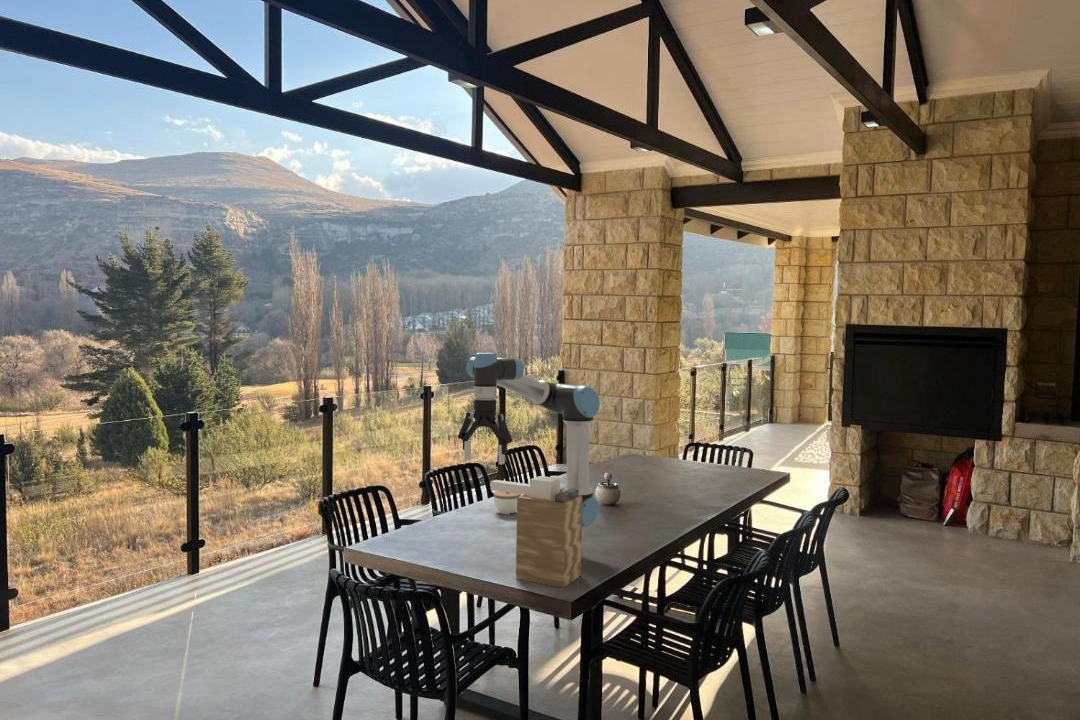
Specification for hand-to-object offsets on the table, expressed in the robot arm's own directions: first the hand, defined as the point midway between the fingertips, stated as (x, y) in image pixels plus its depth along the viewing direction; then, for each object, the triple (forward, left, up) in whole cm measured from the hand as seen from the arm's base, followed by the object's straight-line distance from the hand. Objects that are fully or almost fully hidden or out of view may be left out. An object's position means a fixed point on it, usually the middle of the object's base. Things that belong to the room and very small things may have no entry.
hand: (484, 462), depth 244 cm
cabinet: (-16, +17, -41) cm, 47 cm away
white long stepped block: (-16, +6, -13) cm, 21 cm away
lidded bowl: (-86, -42, -41) cm, 104 cm away
